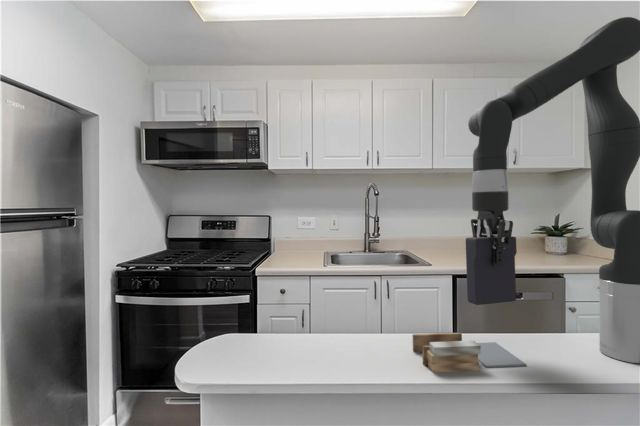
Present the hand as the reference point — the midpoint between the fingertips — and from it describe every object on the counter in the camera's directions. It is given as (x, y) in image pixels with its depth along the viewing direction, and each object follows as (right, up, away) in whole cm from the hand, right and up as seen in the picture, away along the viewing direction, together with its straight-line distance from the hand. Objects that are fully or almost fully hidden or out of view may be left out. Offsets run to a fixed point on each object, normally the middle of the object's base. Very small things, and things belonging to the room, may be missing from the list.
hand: (490, 263), depth 79 cm
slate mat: (0, -21, 0) cm, 21 cm away
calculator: (0, -9, 0) cm, 9 cm away
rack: (-11, -22, 0) cm, 24 cm away
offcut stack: (-11, -22, -6) cm, 25 cm away
